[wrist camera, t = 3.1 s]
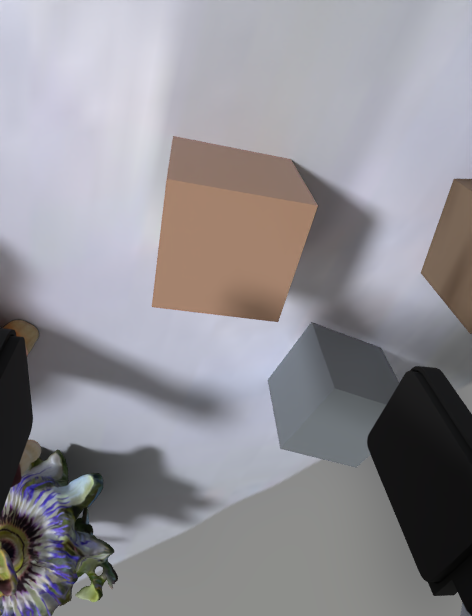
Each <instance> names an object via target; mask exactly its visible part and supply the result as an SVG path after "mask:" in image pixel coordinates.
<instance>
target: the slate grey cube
mask: <svg viewBox="0 0 472 616" xmlns="http://www.w3.org/2000/svg"><path fill="white" fill-rule="evenodd" d="M268 384H269V389H270V395H271V400H272V406H273V411H274V416H275V422H276V427H277V433H278V438H279V443H280V449H284V450H288V451H292V452H296V453H300V454H304V455H308V456H312V457H316V458H320V459H324V460H328V461H332V462H336V463H340V464H344V465H348V466H352V467H357V466H358V465H359V464H360V463H361V462H362V461H364V460H365V459H366V458H367V457H368V456H369V455H371V454H370V452H369V449H368V446H367V438H368V435H369V433H370V431H371V429H372V428H373V426H374V424H375V423H376V421H377V420H378V418H379V416H380V415H381V413H382V411H383V410H384V408H385V406H386V405H387V403H388V401H389V400H390V398H391V396H392V395H393V393H394V391H395V390H396V388H397V386H398V385H399V382H398V380H397V378H396V376H395V374H394V372H393V370H392V368H391V366H390V364H389V362H388V361H387V359H386V357H385V355H384V353H383V351H382V349H381V348H379V347H377V346H374V345H371V344H369V343H366V342H363V341H361V340H358V339H355V338H353V337H350V336H347V335H345V334H342V333H339V332H337V331H334V330H331V329H329V328H326V327H323V326H321V325H318V324H315V323H313V322H311V324H310V325H309V326H308V328H307V329H306V330H305V332H304V333H303V334H302V336H301V337H300V338H299V339H298V341H297V342H296V343H295V345H294V346H293V347H292V349H291V350H290V351H289V353H288V354H287V355H286V357H285V358H284V359H283V361H282V362H281V363H280V365H279V366H278V367H277V368H276V370H275V371H274V372H273V374H272V375H271V376H270V378H269V379H268Z"/></svg>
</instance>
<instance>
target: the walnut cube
mask: <svg viewBox="0 0 472 616" xmlns="http://www.w3.org/2000/svg"><path fill="white" fill-rule="evenodd" d="M421 274H422V275H423V276H424V277H425V279H426V280H427V281H428V282H429V284H430V285H431V286H432V287H433V289H434V290H435V291H436V292H437V294H438V295H439V296H440V297H441V298H442V300H443V301H444V302H445V303H446V305H447V306H448V307H449V308H450V310H451V311H452V312H453V313H454V314H455V316H456V317H457V318H458V319H459V321H460V322H461V323H462V324H463V326H464V327H465V328H466V329H467V331H468V332H469V333H470V334H472V179H454V180H453V183H452V186H451V189H450V191H449V194H448V197H447V200H446V203H445V206H444V208H443V211H442V214H441V217H440V220H439V223H438V225H437V228H436V231H435V234H434V237H433V240H432V242H431V245H430V248H429V251H428V254H427V257H426V259H425V262H424V265H423V268H422V271H421Z"/></svg>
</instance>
